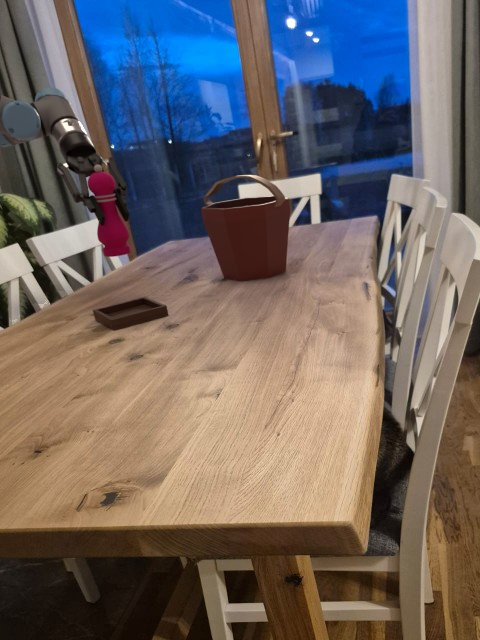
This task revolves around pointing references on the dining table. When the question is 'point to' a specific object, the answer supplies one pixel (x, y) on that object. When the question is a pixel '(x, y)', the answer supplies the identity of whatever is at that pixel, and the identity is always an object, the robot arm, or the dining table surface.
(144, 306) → the base tray
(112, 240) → the pepper mill
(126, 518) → the dining table surface
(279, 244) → the bucket
